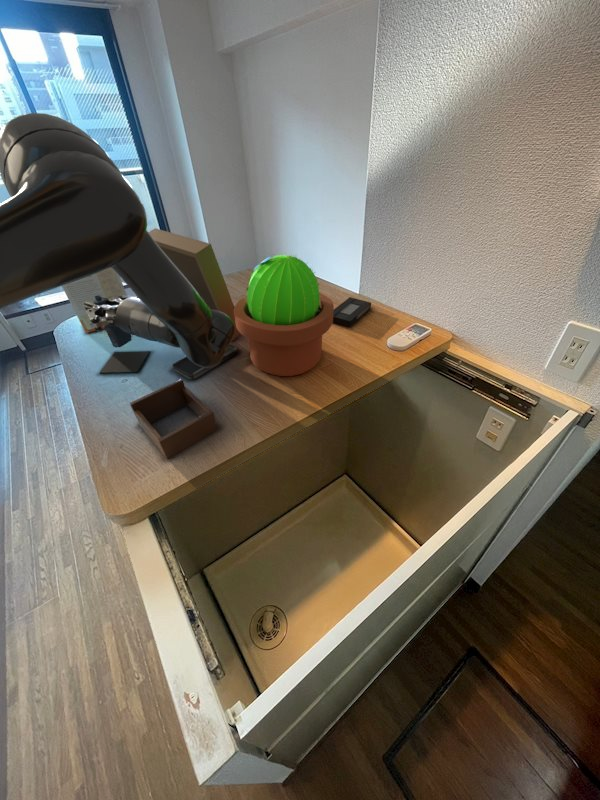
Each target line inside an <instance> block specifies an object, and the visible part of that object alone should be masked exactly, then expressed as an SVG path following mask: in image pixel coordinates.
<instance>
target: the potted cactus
mask: <svg viewBox="0 0 600 800" xmlns="http://www.w3.org/2000/svg"><path fill="white" fill-rule="evenodd" d="M271 256H272V257H271ZM308 263H309V262H308V261H306V262H304V261H303V259H302V258H299V257H298V255H297V254H293V253H292V254H291V253H289V255H286V252H284V254H283V255H282V254H277V255H275V256H274V254H272V255H270V256H268V257H266V258H265V259H263V260H262V261H261V262H259V263H258V265H256V266H254V268H253V273H249V274H248V275H250V278H249V279H247V282H249V283H248V286H247V287H245V288H246V289H245V291H247V294H246V296H243V297H242V298H240V300H238V301H237V302H236V304H235V305H234V318H235V324H236V328H237V330H238V331H239V332H240V333H241V334H240V335H242V336H243V337H245V338H247V341H248V348H249V354H250V356H249V357H250V361H251V362H252V364H253V366H255V367H256V368H257V369H258V370H261V371H262V372H263V373H267V374H269V375H274V376H280V377H293V376H298V375H301V374H304V373H306V372H309V371H311V370H312V369H313V368H314V367H315V366H316V365H318V363H319V362H320V361H321V358H322V352H323V351H322V350H323V349H322V348H323V335H325V334H326V333H327V332H328V331H329V330H330V329H331V327H332V325H333V324H334V323H333V311H334V309H335V308H334V302H333V301H332V300H331V298H330V297H329V296H327V295H325V294H323V293H322V291H321V292H320V287H319V286H320V285H319V282H318V279H320V277H317V276H316V275H315V272H314V270H313V267H312V266H311V267H309V265H308Z"/></svg>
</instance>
